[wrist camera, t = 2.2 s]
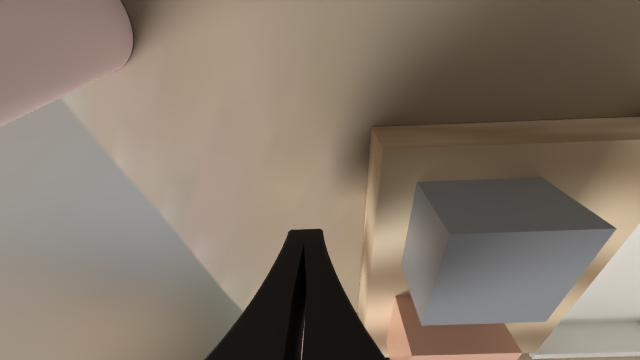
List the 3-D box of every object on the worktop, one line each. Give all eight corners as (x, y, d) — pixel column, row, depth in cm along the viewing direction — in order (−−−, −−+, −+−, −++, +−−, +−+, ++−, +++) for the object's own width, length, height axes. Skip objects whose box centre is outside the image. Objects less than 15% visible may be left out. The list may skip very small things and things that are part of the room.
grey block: (500, 262, 13) (545, 321, 10) (400, 265, 13) (421, 325, 10) (541, 177, 10) (616, 228, 8) (416, 181, 10) (449, 234, 8)
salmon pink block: (462, 340, 17) (488, 397, 14) (386, 342, 17) (398, 400, 14) (485, 293, 14) (522, 352, 12) (395, 296, 14) (412, 356, 12)
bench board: (512, 319, 20) (534, 353, 18) (357, 323, 20) (361, 358, 18) (639, 116, 11) (710, 137, 9) (371, 127, 12) (383, 149, 10)
